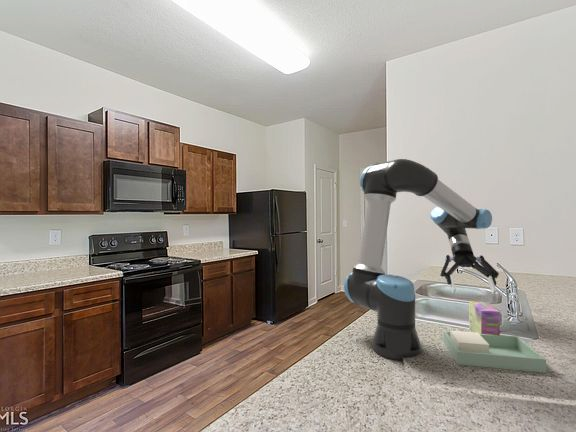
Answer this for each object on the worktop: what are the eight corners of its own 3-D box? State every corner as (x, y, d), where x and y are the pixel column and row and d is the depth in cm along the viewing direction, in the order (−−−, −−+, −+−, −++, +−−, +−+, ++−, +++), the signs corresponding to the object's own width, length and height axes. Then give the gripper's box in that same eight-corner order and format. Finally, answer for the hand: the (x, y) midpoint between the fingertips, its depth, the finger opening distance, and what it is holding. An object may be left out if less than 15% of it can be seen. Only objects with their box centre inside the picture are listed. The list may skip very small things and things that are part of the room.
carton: (458, 359, 89) (458, 342, 89) (450, 346, 98) (450, 330, 98) (489, 361, 87) (489, 344, 87) (478, 348, 96) (477, 332, 96)
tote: (457, 367, 86) (457, 351, 86) (443, 344, 101) (443, 331, 101) (546, 376, 81) (546, 359, 81) (517, 350, 96) (517, 336, 96)
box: (500, 347, 98) (500, 311, 98) (481, 346, 99) (480, 310, 99) (486, 334, 108) (485, 302, 108) (469, 333, 110) (468, 301, 110)
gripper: (491, 253, 127) (508, 298, 113) (428, 252, 134) (436, 295, 119) (496, 242, 122) (515, 288, 108) (430, 242, 128) (439, 285, 114)
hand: (474, 292), depth 113 cm, fingers open, 13 cm apart
